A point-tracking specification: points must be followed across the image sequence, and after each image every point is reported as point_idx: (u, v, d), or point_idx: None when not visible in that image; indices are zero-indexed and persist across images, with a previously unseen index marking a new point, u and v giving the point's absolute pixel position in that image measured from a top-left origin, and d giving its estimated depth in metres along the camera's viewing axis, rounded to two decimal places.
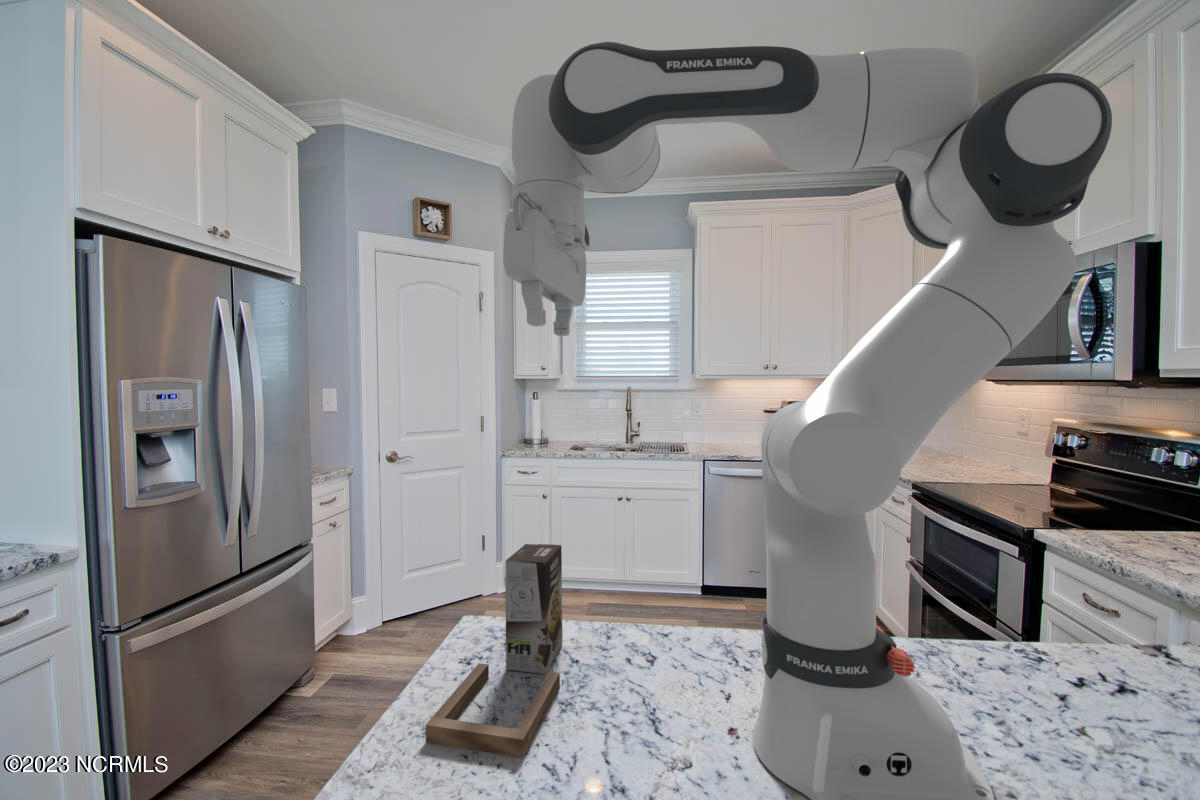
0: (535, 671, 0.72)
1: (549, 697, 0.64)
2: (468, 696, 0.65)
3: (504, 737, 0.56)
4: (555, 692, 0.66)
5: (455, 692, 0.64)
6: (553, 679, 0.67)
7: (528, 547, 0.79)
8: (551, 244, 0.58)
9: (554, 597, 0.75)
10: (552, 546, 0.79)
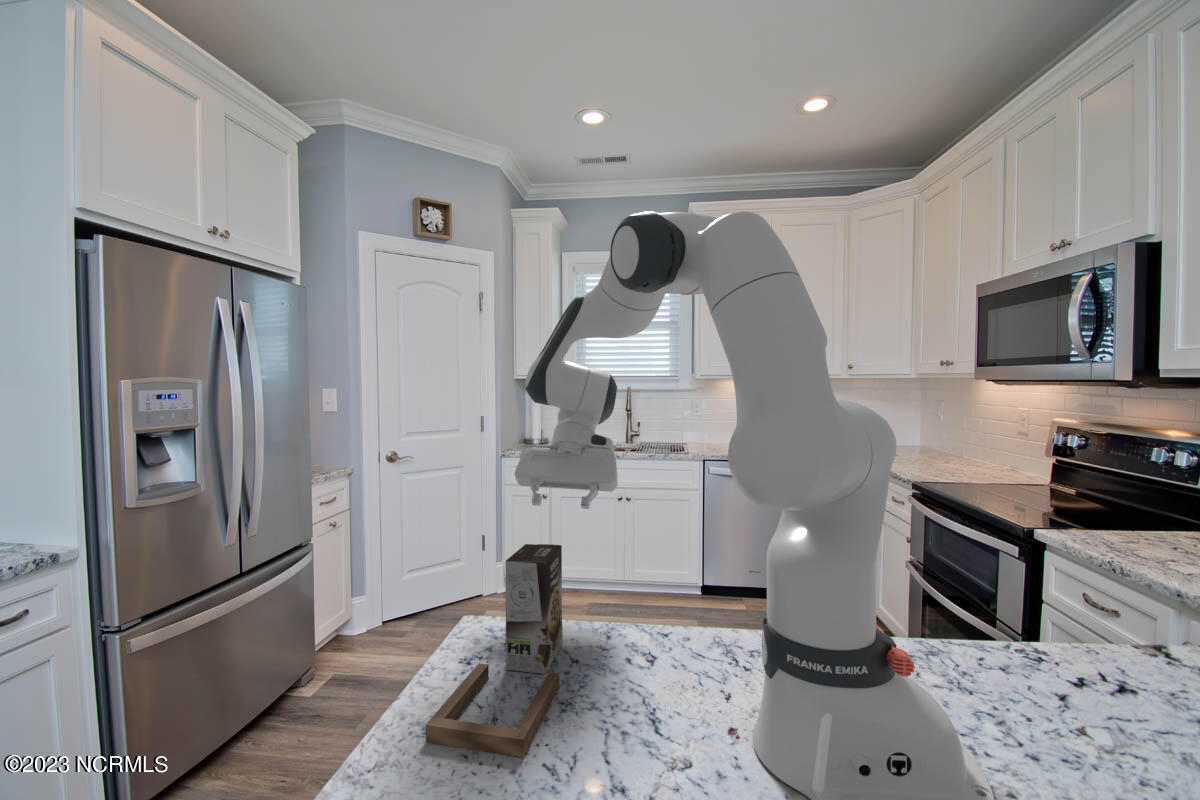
0: (535, 671, 0.72)
1: (549, 697, 0.64)
2: (468, 696, 0.65)
3: (504, 737, 0.56)
4: (555, 692, 0.66)
5: (455, 692, 0.64)
6: (553, 679, 0.67)
7: (528, 547, 0.79)
8: (550, 458, 0.99)
9: (554, 597, 0.75)
10: (552, 546, 0.79)
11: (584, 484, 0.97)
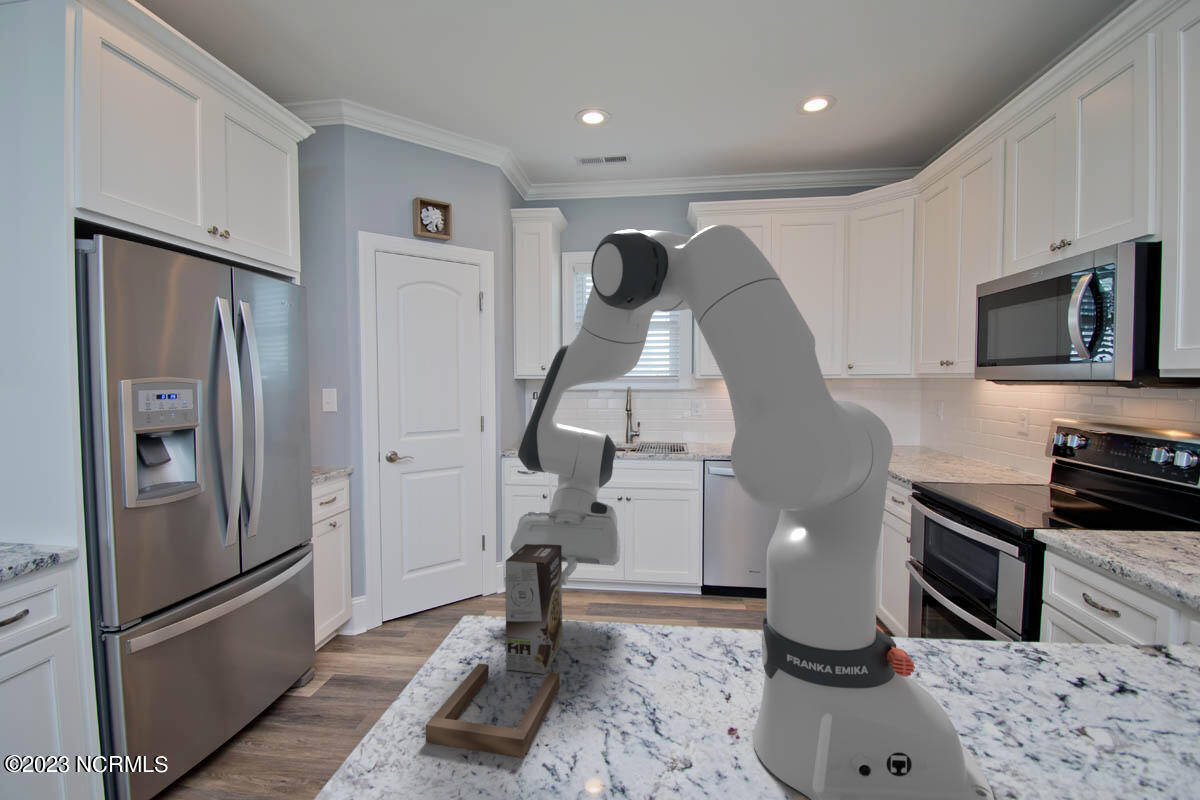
0: (535, 671, 0.72)
1: (549, 697, 0.64)
2: (468, 696, 0.65)
3: (504, 737, 0.56)
4: (555, 692, 0.66)
5: (455, 692, 0.64)
6: (553, 679, 0.67)
7: (528, 547, 0.79)
8: (548, 529, 0.93)
9: (554, 597, 0.75)
10: (552, 546, 0.79)
11: (584, 557, 0.90)
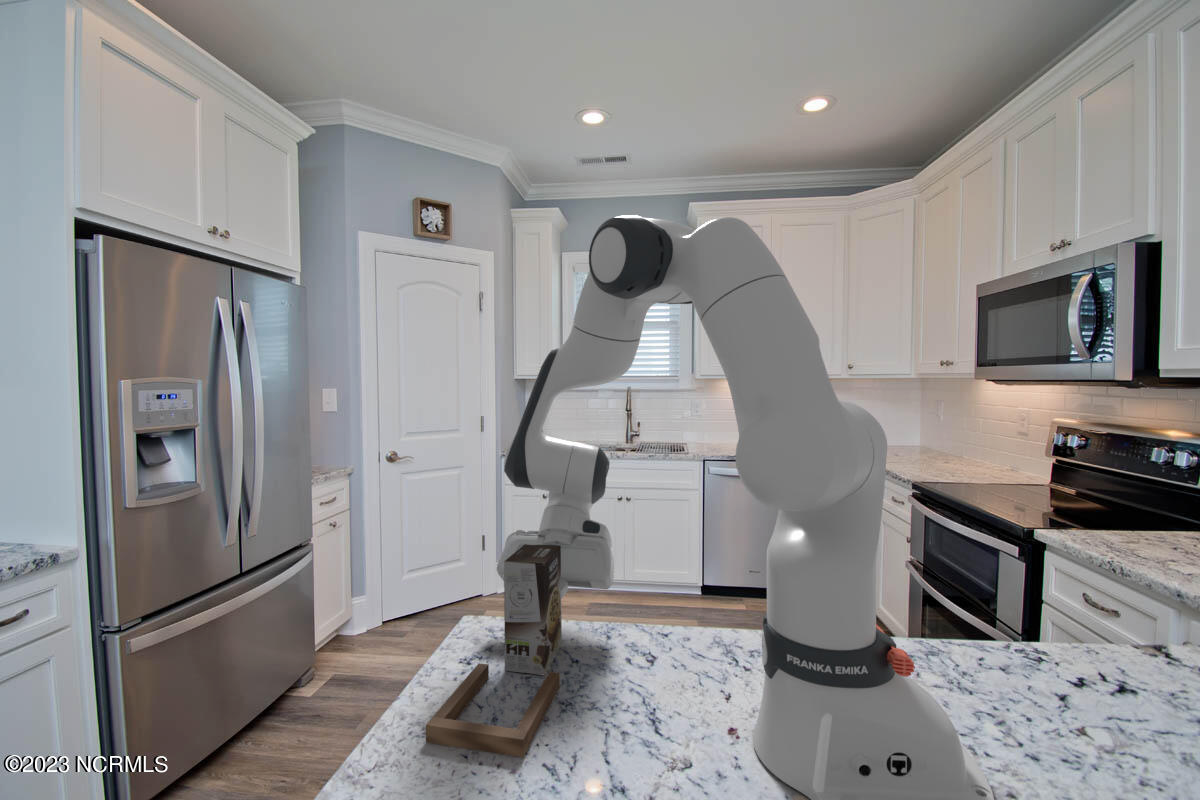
0: (534, 672, 0.71)
1: (549, 697, 0.64)
2: (468, 696, 0.65)
3: (504, 737, 0.56)
4: (555, 692, 0.66)
5: (455, 692, 0.64)
6: (553, 679, 0.67)
7: (527, 547, 0.79)
8: None
9: (553, 598, 0.75)
10: (551, 546, 0.79)
11: (575, 580, 0.84)
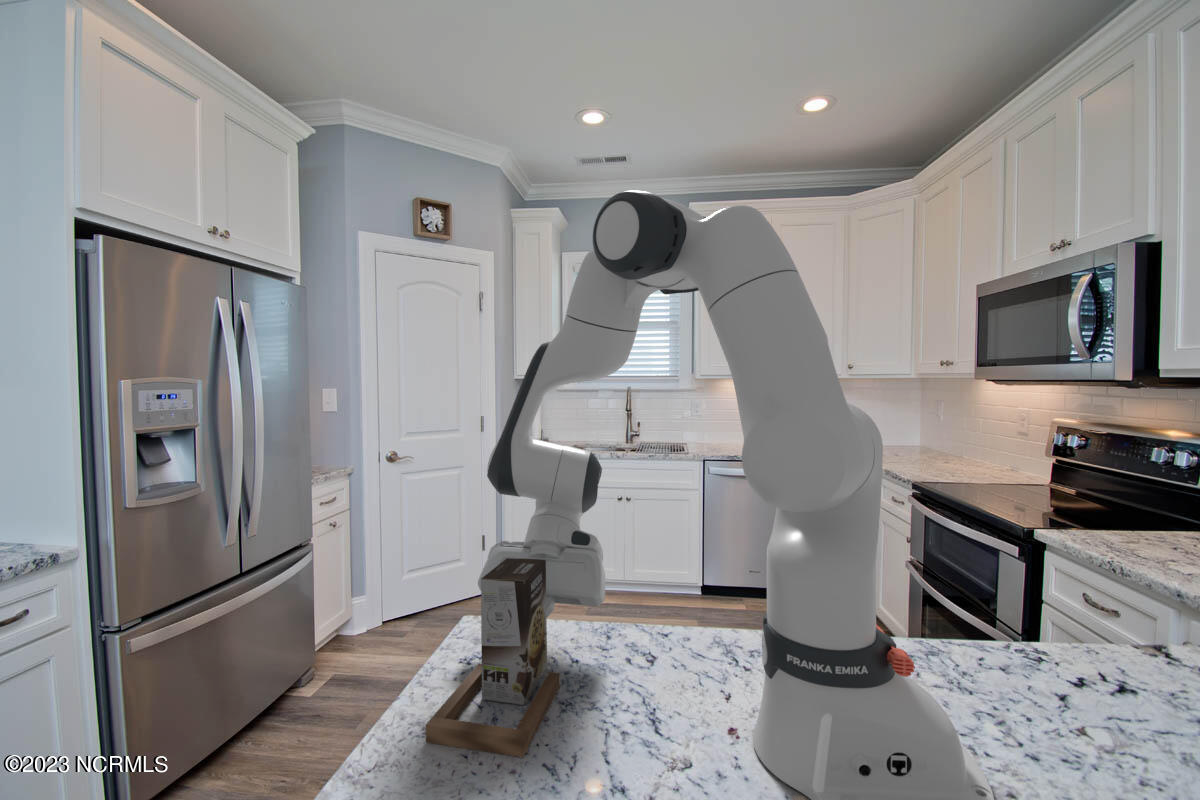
0: (513, 702, 0.64)
1: (549, 697, 0.64)
2: (468, 696, 0.65)
3: (504, 737, 0.56)
4: (555, 692, 0.66)
5: (455, 692, 0.64)
6: (553, 679, 0.67)
7: (509, 562, 0.72)
8: None
9: (536, 619, 0.68)
10: (535, 560, 0.72)
11: (563, 597, 0.77)
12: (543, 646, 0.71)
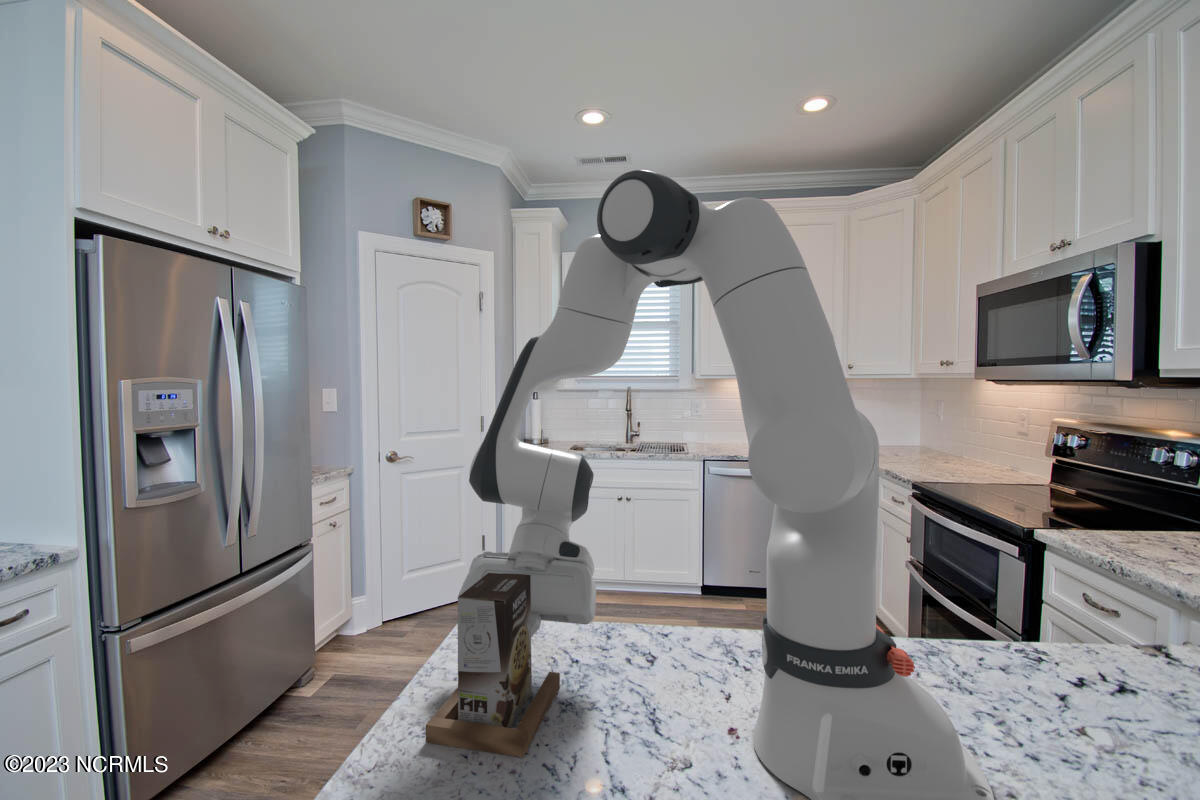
0: None
1: (549, 697, 0.64)
2: None
3: (504, 737, 0.56)
4: (555, 692, 0.66)
5: (455, 692, 0.64)
6: (553, 679, 0.67)
7: (490, 577, 0.66)
8: None
9: (519, 641, 0.62)
10: (519, 576, 0.66)
11: (550, 613, 0.71)
12: (527, 669, 0.65)
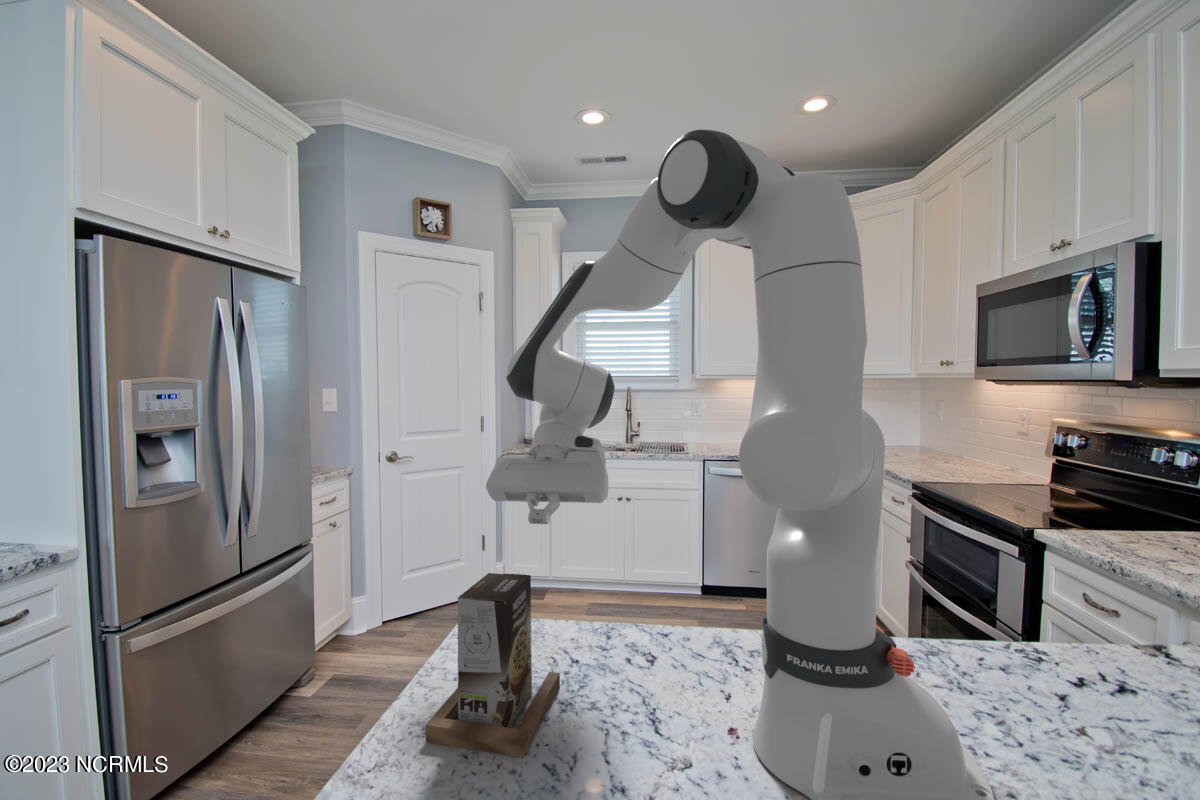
0: None
1: (549, 697, 0.64)
2: None
3: (504, 737, 0.56)
4: (555, 692, 0.66)
5: (455, 692, 0.64)
6: (553, 679, 0.67)
7: (490, 578, 0.66)
8: (528, 466, 0.84)
9: (519, 641, 0.62)
10: (519, 576, 0.66)
11: (568, 495, 0.81)
12: (527, 670, 0.65)
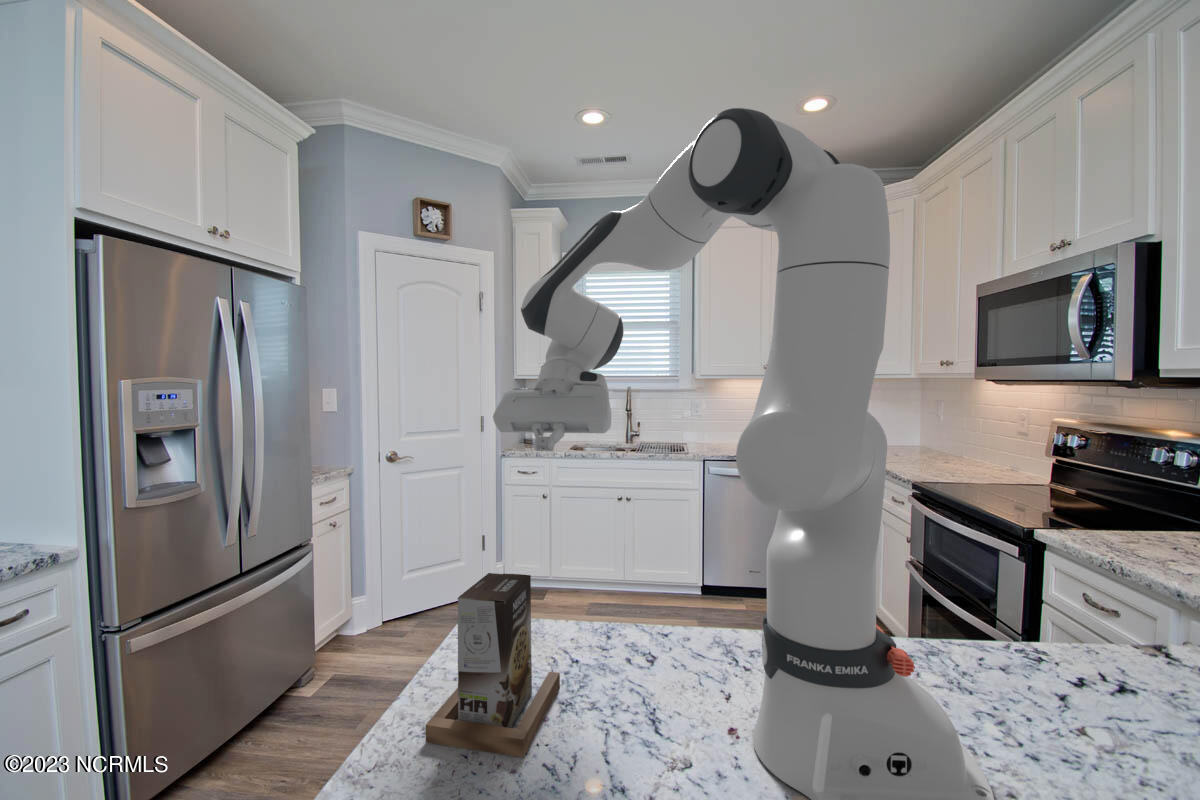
0: None
1: (549, 697, 0.64)
2: None
3: (504, 737, 0.56)
4: (555, 692, 0.66)
5: (455, 692, 0.64)
6: (553, 679, 0.67)
7: (490, 578, 0.66)
8: (534, 400, 0.86)
9: (519, 641, 0.62)
10: (519, 576, 0.66)
11: (572, 426, 0.84)
12: (527, 670, 0.65)
